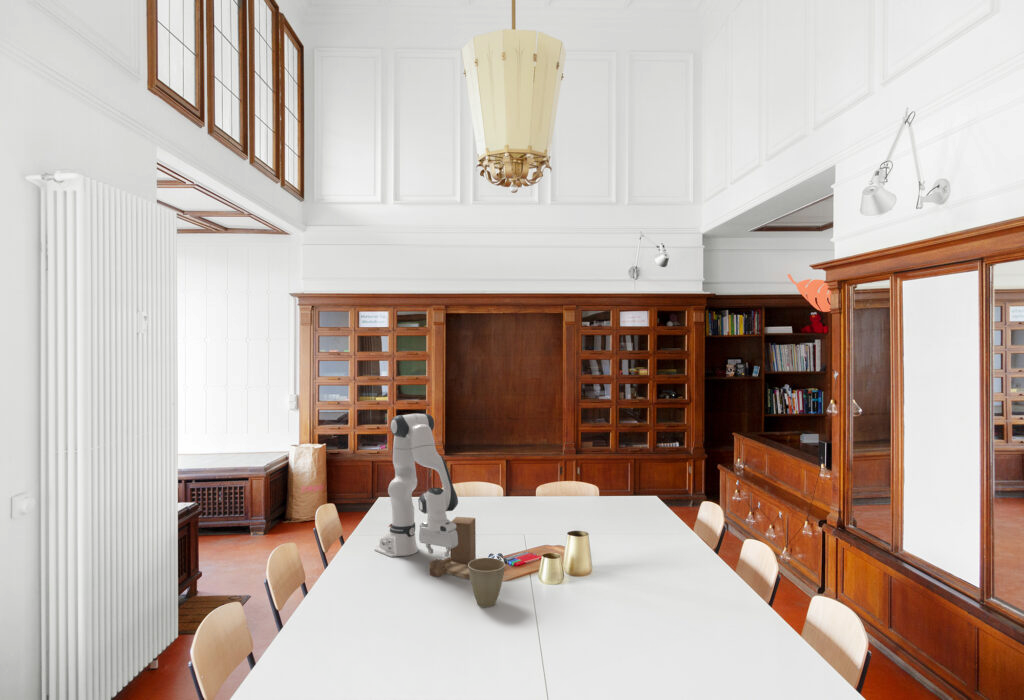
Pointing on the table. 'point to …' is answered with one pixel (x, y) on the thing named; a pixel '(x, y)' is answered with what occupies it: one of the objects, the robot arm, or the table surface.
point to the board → (457, 569)
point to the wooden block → (464, 541)
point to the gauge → (438, 566)
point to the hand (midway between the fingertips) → (438, 554)
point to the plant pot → (486, 580)
